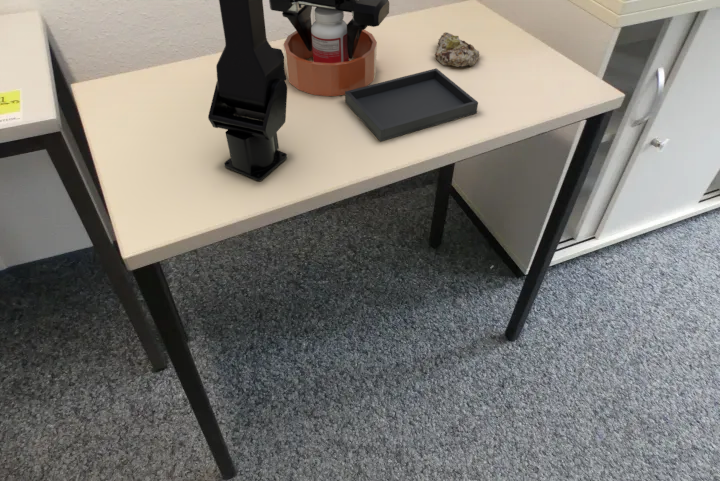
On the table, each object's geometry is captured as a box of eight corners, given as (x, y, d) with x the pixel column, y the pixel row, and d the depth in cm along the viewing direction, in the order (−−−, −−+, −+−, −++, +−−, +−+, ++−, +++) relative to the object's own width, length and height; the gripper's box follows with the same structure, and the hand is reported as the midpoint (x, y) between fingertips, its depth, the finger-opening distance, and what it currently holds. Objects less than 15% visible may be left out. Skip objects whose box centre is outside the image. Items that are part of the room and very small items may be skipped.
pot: (345, 105, 85) (344, 73, 81) (269, 80, 91) (265, 50, 87) (391, 65, 94) (392, 35, 90) (319, 45, 100) (318, 16, 96)
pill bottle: (334, 61, 95) (332, -2, 88) (356, 74, 92) (356, 10, 84) (307, 72, 93) (302, 8, 85) (327, 85, 89) (324, 20, 81)
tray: (380, 141, 78) (380, 130, 76) (345, 102, 86) (344, 91, 84) (476, 113, 83) (478, 102, 82) (435, 78, 91) (436, 68, 89)
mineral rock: (492, 54, 92) (451, 46, 89) (482, 77, 95) (442, 71, 92) (468, 30, 100) (431, 22, 97) (460, 52, 102) (423, 45, 100)
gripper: (402, -55, 82) (397, 42, 93) (293, -68, 86) (301, 26, 97) (378, -31, 74) (376, 71, 86) (261, -46, 79) (273, 52, 90)
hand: (331, 53), depth 90 cm, fingers closed on pill bottle, 7 cm apart
